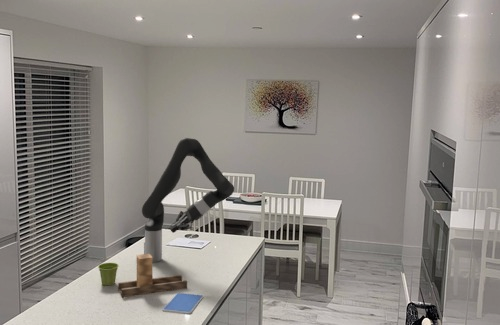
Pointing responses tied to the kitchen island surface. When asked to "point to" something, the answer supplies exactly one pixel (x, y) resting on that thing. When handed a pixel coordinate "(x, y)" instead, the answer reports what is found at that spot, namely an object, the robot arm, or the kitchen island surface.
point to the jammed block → (144, 270)
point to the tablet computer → (183, 303)
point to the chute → (152, 286)
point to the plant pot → (108, 273)
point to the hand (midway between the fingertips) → (171, 230)
